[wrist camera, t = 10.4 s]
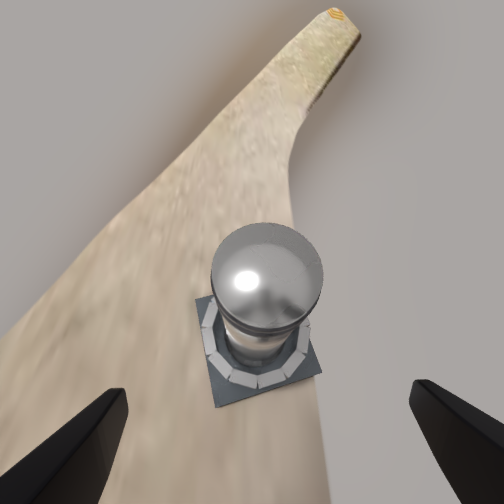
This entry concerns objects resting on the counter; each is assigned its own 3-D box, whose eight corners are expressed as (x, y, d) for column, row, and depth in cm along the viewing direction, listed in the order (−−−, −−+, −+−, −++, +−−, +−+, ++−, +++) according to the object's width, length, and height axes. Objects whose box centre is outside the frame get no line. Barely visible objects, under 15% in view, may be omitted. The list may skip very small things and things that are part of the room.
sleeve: (320, 373, 21) (332, 369, 18) (215, 407, 19) (211, 409, 17) (285, 278, 25) (290, 263, 22) (196, 301, 23) (189, 288, 20)
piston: (284, 369, 20) (336, 339, 9) (221, 364, 20) (192, 327, 9) (284, 307, 23) (326, 221, 11) (228, 303, 23) (213, 212, 11)
